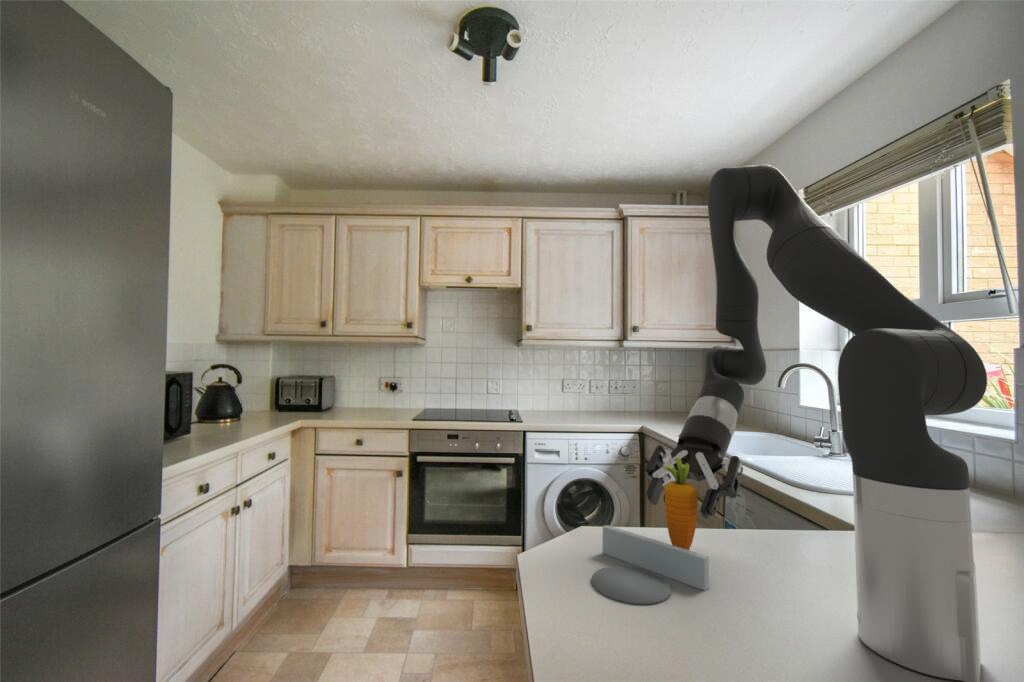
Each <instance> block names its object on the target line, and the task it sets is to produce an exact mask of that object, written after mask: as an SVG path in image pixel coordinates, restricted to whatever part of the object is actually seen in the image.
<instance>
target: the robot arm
mask: <svg viewBox="0 0 1024 682" xmlns="http://www.w3.org/2000/svg"><path fill="white" fill-rule="evenodd" d="M707 211H708V220H709V231H710V239H711V241H710V242H711V247H712V254H713V261H714V269H715V281H716V284H715V285H716V298H715V299H716V300H715V301H716V302H715V303H716V304H715V305H716V306H715V328H716V331H717V333H719V334H721V335H724V336H726V337H730V338H732V339H735V340H737V341H738V342H739V343H740V345H741V346H732V345H724V344H722V345H721V344H719V345H715V346H713V347H711V348H710V349H709V350H708V351H707V352H706V354H705V358H704V379H703V385H702V388H701V391H700V392H699V395H698V397H697V400H696V402H695V403H694V405H693V406H692V408H691V410H690V411H689V414H688V416H687V418H686V421H685V423H684V425H683V427H682V430H681V432H680V435H679V436H678V440H677V445H676V447H675V448H673V449H672V450H670V449H665V448H664V447H663V445H661V444H660V445H659V444H658V445H657V446H656V447H655V448H654V450H653V452H652V455H651V457H650V458H649V460H648V462H647V464H646V466H645V467H644V470H643V471H644V473H645V474H646V476H647V478H648V480H649V481H650V483H649V486H648V488H647V490H646V492H645V493H646V495H645V496H646V497H647V500H648V503H650V505H653V506H657V504H658V502H659V500H660V498H661V496H662V494H663V491H664V490H665V486H666V484H668V483H670V482H676V480H675V477H674V476H673V474H672V473H671V472H670V471H668V470H667V469H666V468H665V467H666V466H670V467H672V468H673V469H675V470H676V471H678V472H679V470H678V467H677V463H676V460H675V459H676V458H680V459H681V461H682V464H683V465H685V464H686V463H687V464H689V472H688V475H687V478H686V480H693V481H696V482H703V481H705V480H706V481H707V483H708V485H709V487H710V488H709V489H706V492H705V495H704V498H703V500H702V504H701V505H700V510H699V511H700V513H701V515H702V517H703V518H704V519H708V520H710V519H711V517H714V516H715V515H716V513H717V510H718V507H719V504H720V502H721V499H724V498H725V497H728V498H730V499H735V498H737V496H738V493H739V488H740V484H741V479H742V476H743V473H744V471H743V470H744V467H743V466H742V465H743V464H742V462H741V460H740V458H739V457H738V456H737V455H733V456H731V457H730V458H725V457H726V455H727V452H728V449H729V447H730V444H731V441H732V439H733V435H735V429H736V427H737V419H738V416H739V414H740V410H741V408H742V405H743V403H744V399H745V392H744V389H743V387H742V386H741V385H744V386H745V385H746V386H756V385H757V384H759V383H761V382H762V380H763V379H764V378H765V375H766V372H767V362H766V357H765V355H764V349H763V347H762V343H761V340H760V334H759V327H758V323H759V322H758V320H759V319H758V316H759V287H758V282H757V281H756V278H755V276H754V274H753V273H752V270H750V267H749V266H748V265H747V263H746V261H745V259H744V257H743V256H742V254H741V252H740V249H739V248H738V245H737V242H736V236H735V222H741V221H754V220H757V221H762V222H763V223H765V224H766V225H767V226H768V227H769V228H770V229H771V231H772V232H771V234H770V237H769V240H768V244H767V249H766V261H767V264H768V265H767V266H768V267H769V269H770V271H771V272H772V274H773V275H774V276H775V277H776V279H777V280H778V281H779V282H780V284H781V285H782V286H783V288H784V289H785V291H787V293H789V295H791V297H793V298H794V299H795V300H797V301H798V302H799V303H801V304H803V305H804V306H805V307H807V308H809V309H811V310H812V311H815V312H816V313H818V314H820V315H822V316H823V317H825V318H827V319H829V321H833V322H835V323H837V324H838V325H839V326H842V327H843V328H845V329H846V330H848V331H850V332H851V333H852V334H853V336H852V337H851V338H850V339H848V341H847V342H846V343H845V345H844V347H843V349H842V351H841V353H840V356H839V360H838V366H837V367H838V368H837V387H838V394H839V395H838V396H839V404H840V405H839V406H840V418H841V429H842V436H843V442H844V445H845V448H846V450H847V452H848V454H849V456H850V459H851V466H852V468H851V469H852V487H853V488H852V491H853V492H852V493H853V494H852V495H853V518H854V519H853V521H854V550H855V551H854V552H855V555H854V556H855V580H856V584H855V586H856V602H857V603H856V604H857V605H856V608H857V609H856V619H857V631H858V632H857V634H858V637H859V639H860V640H861V642H863V644H865V646H867V647H868V648H869V649H870V650H872V652H875V653H877V654H878V655H879V656H881V657H883V658H885V659H887V660H889V661H891V662H893V663H896V664H898V665H899V666H901V667H904V668H907V669H910V670H912V671H916V672H919V673H922V674H925V675H929V676H932V677H937V678H941V679H945V680H946V679H947V680H954V681H955V680H956V681H961V682H981V665H982V663H981V662H982V660H981V659H982V658H981V657H982V656H981V641H980V625H979V610H978V609H979V608H978V607H979V606H978V590H977V589H978V588H977V572H976V571H977V570H976V563H975V559H974V545H973V544H974V543H973V529H972V528H973V527H972V525H973V524H972V513H971V497H970V496H971V494H970V492H971V491H970V477H969V476H970V473H969V467H968V464H967V462H966V460H965V459H963V458H962V457H961V456H959V455H957V454H955V453H953V452H950V451H948V450H946V449H944V448H943V447H941V446H940V445H938V444H937V443H936V442H935V441H934V440H933V439H932V437H931V435H930V434H929V430H928V426H927V421H926V420H927V419H926V416H945V415H946V416H947V415H955V414H958V413H960V414H961V413H963V412H966V411H968V410H970V409H972V408H974V407H975V406H977V405H978V404H979V403H980V402H981V401H982V399H983V398H984V396H985V394H986V391H987V386H988V375H987V374H988V373H987V369H986V366H985V364H984V362H983V360H982V359H981V356H980V355H979V353H978V352H977V351H976V349H975V348H974V347H973V346H972V345H971V344H970V343H969V342H968V341H967V340H966V339H964V338H963V336H960V335H959V334H958V333H957V332H956V331H954V330H952V329H951V328H950V327H948V326H947V325H945V324H944V323H943V322H942V321H940V320H938V319H937V318H936V317H934V316H933V315H932V314H930V313H929V312H928V311H926V310H925V309H923V308H922V307H920V305H918V304H916V303H915V302H914V301H912V300H911V299H909V297H907V296H906V295H904V294H903V293H902V292H901V291H900V290H898V289H897V287H895V286H894V285H893V284H892V283H891V282H890V281H889V280H888V279H887V278H886V277H884V275H883V274H882V273H880V272H879V271H878V270H877V269H876V267H874V266H873V265H872V264H870V262H868V261H867V260H866V259H865V258H864V257H863V256H861V254H860V253H859V252H858V251H857V250H856V249H855V248H854V247H853V246H852V245H851V244H850V243H849V242H848V241H847V240H846V239H844V237H843V236H842V235H840V234H839V232H838V231H836V230H835V229H834V228H832V226H830V225H829V224H827V223H826V222H825V221H824V220H823V219H822V218H821V217H820V216H819V215H818V214H817V213H816V211H814V210H813V209H812V207H810V206H809V205H808V204H807V203H806V202H805V201H804V199H803V198H802V197H801V196H800V194H798V192H797V191H796V190H795V188H794V187H793V185H792V184H791V183H790V181H789V180H788V179H787V178H786V176H785V175H784V174H783V173H782V172H781V171H780V170H779V169H778V168H776V167H775V166H773V165H769V164H751V165H741V166H737V165H736V166H730V167H729V166H727V167H722V168H720V169H717V171H716V172H715V173H714V174H713V175H712V178H711V180H710V183H709V186H708V193H707ZM722 469H725V471H726V474H725V478H724V481H723V483H718V481H717V479H716V477H715V475H716V473H718V472H720V471H721V470H722Z"/></svg>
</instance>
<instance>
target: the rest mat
mask: <svg viewBox="0 0 1024 682" xmlns="http://www.w3.org/2000/svg"><path fill="white" fill-rule="evenodd" d="M591 584H592V586H593V588H594V589H595V590H596V591H597V592H598V593H600V594H601V595H603V596H605V597H607V598H609V599H612V600H614V601H617V602H622V603H626V604H631V605H632V604H633V605H639V606H640V605H643V606H648V605H656V604H661V603H663V602H666V601H667V600H668V599H669V598H670V597H671V594H672V588H671V585H670V583H669V582H668V581H666V580H665V579H664V578H663V577H661V576H659V574H657V573H654V572H652V571H649V570H644V569H641V568H635V567H630V566H609V567H604V568H600V569H598V570H596V571H595V572H594V573H593V574H592V575H591Z"/></svg>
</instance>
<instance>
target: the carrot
mask: <svg viewBox="0 0 1024 682" xmlns="http://www.w3.org/2000/svg"><path fill="white" fill-rule="evenodd" d="M675 460H676V463H677V467H678V470H679V472H678V471H677V470H676V469H675V468H674V467H673V468H672V467H670V466H666V467H665V468H666V469H667V470H668V471H670V472H671V473H672V474H673V476H674V477H675V480H676V481H670V482H669V483H667V484H666V485H664V507H665V508H664V512H665V518H666V519H665V520H666V526H667V531H668V536H669V539H670V543H671V545H673V546H676V547H680V548H683V549H686V550H689V551H690V549H691V547H692V544H693V541H694V538H695V533H696V526H697V516H698V497H699V496H698V492H697V489H696V487H695V486H694V485H693V484H691V483H687V482H686V480H687V479H686V478H687V475H688V472H689V464H687V463H686V464H685V465H683V464H682V461H681V459H680V458H676V459H675Z"/></svg>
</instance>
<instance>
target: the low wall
mask: <svg viewBox="0 0 1024 682" xmlns="http://www.w3.org/2000/svg"><path fill="white" fill-rule="evenodd" d="M602 554H604V555H606V556H609V557H612V558H615V559H617V560H620V561H623V562H625V563H628V564H631V565H634V566H637V567H639V568H642V569H643V570H644V569H646V571H649V572H652V573H654V574H657V575H661V576H663V577H667V578H668V579H672V580H674V581H678V582H680V583H683V584H685V585H688V586H692V587H693V588H695V589H696V588H697V589H699V590H701V591H706V590H708V589H709V588H710V585H709V584H710V581H709V579H710V578H709V577H710V573H709V572H710V569H709V568H710V567H709V566H710V565H709V563H710V562H709V561H710V558H709V557H710V556H708V555H705V554H702V553H698V552H695V551H692V550H690V549H689V550H686V549H683V548H680V547H676V546H673V545H672V544H670V543H667V542H663V541H659V540H656V539H653V538H650V537H647V536H644V535H640V534H639V533H638V534H637V533H633V532H631V531H627V530H624V529H621V528H617V527H614V526H611V525H608V524H606V525H603V526H602Z"/></svg>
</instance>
